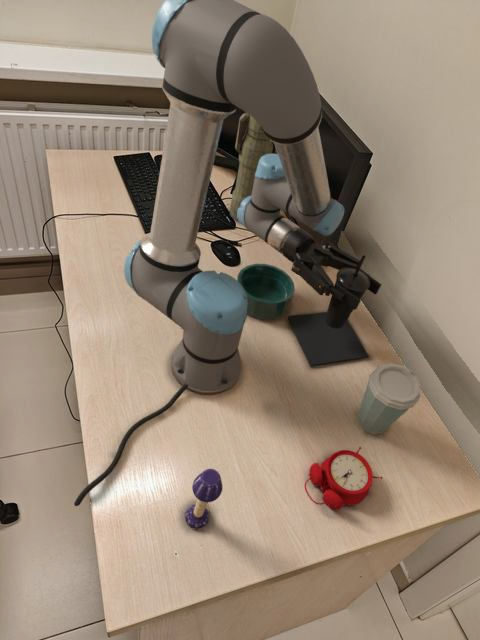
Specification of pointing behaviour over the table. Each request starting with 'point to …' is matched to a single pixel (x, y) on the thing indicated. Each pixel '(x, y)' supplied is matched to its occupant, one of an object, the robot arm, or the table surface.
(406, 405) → the disposable coffee cup
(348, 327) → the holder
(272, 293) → the green bowl
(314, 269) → the robot arm
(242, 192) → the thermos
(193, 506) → the toy lamp
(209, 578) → the table surface
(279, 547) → the table surface
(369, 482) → the alarm clock
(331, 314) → the drinking cup
